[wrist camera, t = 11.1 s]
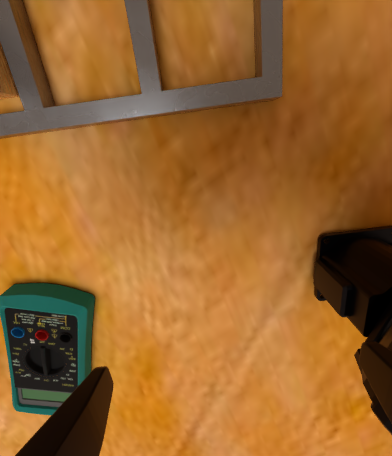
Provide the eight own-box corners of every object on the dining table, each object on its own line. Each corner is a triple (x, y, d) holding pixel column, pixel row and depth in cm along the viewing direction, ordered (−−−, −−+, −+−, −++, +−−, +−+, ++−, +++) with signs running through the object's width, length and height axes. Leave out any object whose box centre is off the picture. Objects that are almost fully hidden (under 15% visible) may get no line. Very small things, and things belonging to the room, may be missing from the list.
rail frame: (272, -118, 12) (283, -151, 11) (274, 100, 16) (282, 96, 14) (-151, -48, 13) (-193, -71, 11) (-56, 146, 16) (-79, 147, 15)
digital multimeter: (97, 285, 21) (83, 307, 19) (94, 394, 27) (83, 423, 24) (15, 274, 21) (-12, 295, 18) (28, 387, 26) (8, 416, 23)
